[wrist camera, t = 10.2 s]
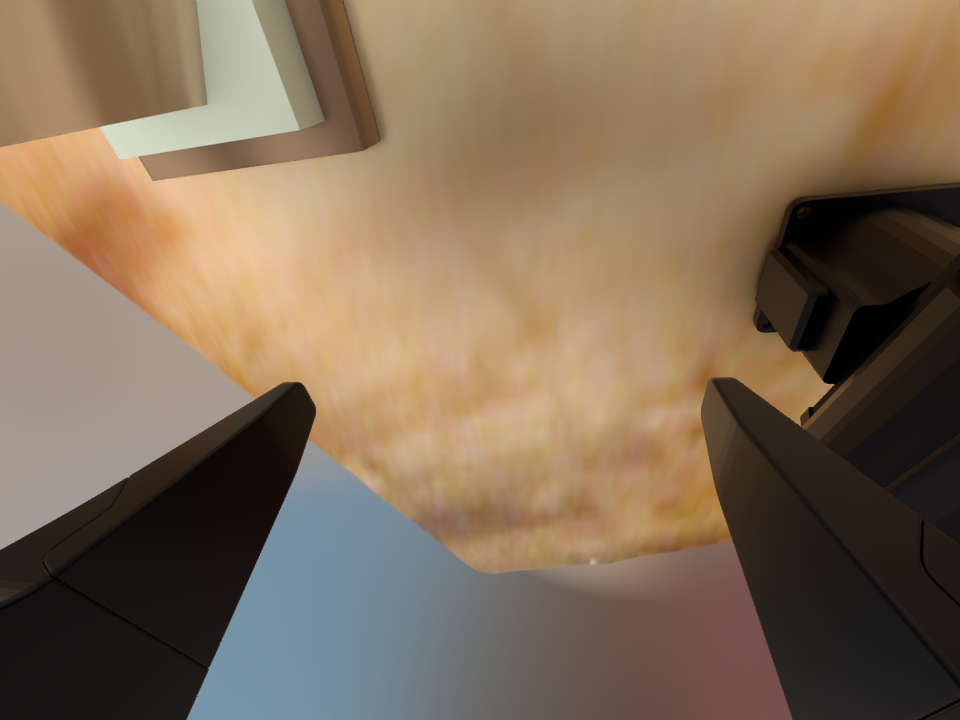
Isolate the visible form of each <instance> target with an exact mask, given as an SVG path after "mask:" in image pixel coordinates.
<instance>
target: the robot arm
mask: <svg viewBox="0 0 960 720" xmlns="http://www.w3.org/2000/svg"><path fill="white" fill-rule="evenodd" d="M806 206H807V210H806V211H805V213H803V214H802V215H799V216H797V212H798V211H799V210H800V209H801V208H803V207H806ZM755 300H756V302H757V303H758V307H757V310H756V314H755V317H754V322H753V323H754V325H755V327H756V328H757V330H758V331H760V332H764V333H768V332H778V334H779V335H780V337H781V338H782V340H783V341H784V342H785V344H786V345H787V347H788V348H789V349H791V350H792V351H793V352H802V353H803V354H804V356H805V357H806V358H807V360H808V361H809V362H810V364H811V365H812V367H813V368H814V369H815V371H816V372H817V373H818V375H819V376H820V378H821V379H822V380H823V381H824V382H825V383H827V384H835V385H834V386H833V387H832V388H831V389H830V390H829V391H828V392H827V393H826V394H825V395H824V396H823V397H822V398H821V399H820V401H819V402H818V403H817V404H816V405H815V406H814V407H809V408H808V409H807V410H806V411H805V412H804V413H803V414H802V415H801V417H800V420H801V427H800V426H799V425H798V424H796V423H795V422H793V421H792V420H791V419H789V418H788V417H787V416H785V415H784V414H783V413H781V412H780V411H779V410H777V409H776V408H775V407H773V406H772V405H771V404H769V403H768V402H766V401H765V400H764V399H762V398H761V397H760V396H758V395H757V394H756V393H754V392H753V391H752V390H750V389H749V388H748V387H746V386H745V385H744V384H742V383H741V382H739V381H738V380H737V379H735V378H731V377H714V378H711V379H710V380H709V381H708V383H707V387H706V391H705V395H704V399H703V403H702V407H701V419H702V424H703V429H704V434H705V439H706V444H707V449H708V455H709V460H710V465H711V470H712V475H713V479H714V484H715V488H716V492H717V495H718V498H719V502H720V505H721V508H722V510H723V513H724V516H725V519H726V522H727V525H728V528H729V531H730V534H731V537H732V540H733V543H734V546H735V549H736V552H737V555H738V558H739V561H740V564H741V567H742V570H743V573H744V576H745V579H746V582H747V585H748V588H749V591H750V594H751V597H752V600H753V603H754V606H755V609H756V612H757V615H758V618H759V621H760V624H761V627H762V630H763V633H764V636H765V639H766V642H767V645H768V648H769V651H770V654H771V657H772V659H773V663H774V666H775V669H776V672H777V674H778V677H779V680H780V684H781V686H782V690H783V693H784V695H785V698H786V701H787V704H788V707H789V710H790V713H791V716H792V719H793V720H960V183H956V184H945V185H934V186H923V187H912V188H901V189H890V190H879V191H868V192H857V193H846V194H835V195H824V196H813V197H803V198H799V199H797V200H795V201H793V202H792V203H791V204H790V205H789V207H788V208H787V210H786V214H785V217H784V220H783V224H782V227H781V230H780V234H779V237H778V240H777V244H776V247H775V248H774V249H773V250H772V251H771V252H769V254H768V257H767V261H766V264H765V267H764V271H763V274H762V278H761V281H760V285H759V288H758V291H757V295H756V298H755ZM766 320H769V322H768V323H767V324H762V323H763V322H764V321H766ZM315 416H316V407H315V404H314V402H313V401H312V399H311V397H310V395H309V393H308V392H307V390H306V388H305V386H304V385H303V384H302V383H300V382H284V383H282V384H280V385H278V386H277V387H275V388H273V389H272V390H270V391H268V392H267V393H265V394H263V395H262V396H260V397H259V398H257V399H255V400H254V401H252V402H250V403H249V404H247V405H245V406H244V407H242V408H240V409H239V410H237V411H236V412H234V413H232V414H231V415H229V416H227V417H226V418H224V419H222V420H221V421H219V422H217V423H216V424H214V425H212V426H211V427H209V428H208V429H206V430H204V431H203V432H201V433H199V434H198V435H196V436H194V437H193V438H191V439H189V440H188V441H186V442H185V443H183V444H181V445H180V446H178V447H176V448H175V449H173V450H171V451H170V452H168V453H166V454H165V455H163V456H162V457H160V458H158V459H157V460H155V461H153V462H152V463H150V464H148V465H147V466H145V467H143V468H142V469H140V470H139V471H137V472H135V473H134V474H132V475H131V476H130V477H129V478H125V479H123V480H122V481H120V482H119V483H117V484H115V485H114V486H112V487H110V488H109V489H107V490H105V491H104V492H102V493H100V494H99V495H97V496H95V497H94V498H92V499H90V500H88V501H87V502H85V503H83V504H82V505H80V506H78V507H77V508H75V509H73V510H71V511H69V512H68V513H66V514H64V515H62V516H61V517H59V518H57V519H56V520H54V521H52V522H50V523H48V524H47V525H45V526H43V527H41V528H39V529H37V530H36V531H34V532H32V533H30V534H28V535H26V536H25V537H23V538H21V539H19V540H17V541H16V542H14V543H12V544H10V545H8V546H7V547H5V548H3V549H1V550H0V720H187V717H188V715H189V713H190V711H191V708H192V706H193V704H194V701H195V699H196V697H197V695H198V693H199V690H200V688H201V686H202V684H203V682H204V679H205V677H206V675H207V673H208V670H209V669H208V668H209V667H210V665H211V663H212V661H213V658H214V656H215V654H216V652H217V649H218V647H219V645H220V643H221V641H222V638H223V636H224V634H225V631H226V629H227V627H228V625H229V622H230V620H231V618H232V616H233V614H234V611H235V609H236V607H237V605H238V603H239V600H240V598H241V596H242V594H243V591H244V589H245V587H246V585H247V582H248V580H249V578H250V576H251V573H252V571H253V569H254V567H255V564H256V562H257V560H258V558H259V556H260V553H261V551H262V549H263V547H264V544H265V542H266V540H267V538H268V535H269V533H270V531H271V529H272V526H273V524H274V522H275V520H276V517H277V515H278V513H279V511H280V509H281V506H282V504H283V502H284V500H285V497H286V495H287V493H288V490H289V488H290V486H291V484H292V482H293V479H294V477H295V474H296V472H297V470H298V467H299V464H300V461H301V458H302V455H303V452H304V449H305V446H306V443H307V440H308V437H309V434H310V431H311V428H312V425H313V422H314V419H315Z"/></svg>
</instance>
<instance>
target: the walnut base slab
mask: <svg viewBox="0 0 960 720" xmlns="http://www.w3.org/2000/svg"><path fill="white" fill-rule="evenodd" d="M285 3H286V6H287V9H288V12H289V15H290V18H291V21H292V24H293V27H294V30H295V33H296V35H297V38H298V41H299V44H300V47H301V50H302V53H303V56H304V59H305V62H306V65H307V68H308V71H309V74H310V77H311V80H312V83H313V86H314V89H315V92H316V95H317V98H318V101H319V104H320V107H321V110H322V113H323V116H324V119H325V121H324V122H321V123H318V124H315V125H313V126H310V127H307V128H305V129H302V130H298V131H292V132H286V133H280V134H274V135H268V136H261V137H255V138H249V139H243V140H237V141H231V142H224V143H218V144H212V145H206V146H200V147H194V148H187V149H181V150H175V151H169V152H163V153H157V154H150V155H144V156H138V157H139V159H140V161H141V162H142V164H143V165H144V167H145V169H146V170H147V172H148V174H149V175H150V177H151V179H152V180H153V181H156V180H163V179H170V178H177V177H184V176H191V175H198V174H205V173H212V172H219V171H226V170H233V169H240V168H247V167H254V166H261V165H268V164H275V163H282V162H289V161H296V160H303V159H310V158H317V157H324V156H331V155H337V154H344V153H351V152H358V151H364V150H365V149H367V148H369V147H371V146H372V145H374V144H376V143H377V142H379V141H380V138H379V134H378V130H377V127H376V123H375V119H374V115H373V112H372V108H371V104H370V101H369V97H368V93H367V89H366V86H365V82H364V78H363V74H362V71H361V67H360V63H359V60H358V56H357V52H356V48H355V45H354V41H353V37H352V34H351V30H350V26H349V22H348V19H347V15H346V11H345V8H344V4H343V0H285Z"/></svg>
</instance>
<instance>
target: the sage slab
mask: <svg viewBox="0 0 960 720" xmlns="http://www.w3.org/2000/svg"><path fill="white" fill-rule="evenodd" d="M196 3H197V12H198V21H199V30H200V40H201V49H202V58H203V68H204V77H205V86H206V96H207V105H204V106H199V107H194V108H189V109H185V110H180V111H175V112H170V113H165V114H160V115H155V116H150V117H145V118H141V119H136V120H131V121H126V122H121V123H116V124H111V125H106V126H101V127H100V129H101V131H102V132H103V134H104V135H105V137H106V138H107V140H108V142H109V143H110V145H111V146H112V148H113V150H114V151H115V153H116V154H117V156H118V157H119V159H126V158H132V157H138V156H144V155H150V154H157V153H163V152H169V151H175V150H181V149H187V148H194V147H200V146H206V145H212V144H218V143H224V142H231V141H237V140H243V139H249V138H255V137H261V136H268V135H274V134H280V133H286V132H292V131H298V130H302V129H305V128H307V127H310V126H313V125H315V124H318V123H321V122H324V121H325V119H324V116H323V113H322V110H321V107H320V104H319V101H318V98H317V95H316V92H315V89H314V86H313V83H312V80H311V77H310V74H309V71H308V68H307V65H306V62H305V59H304V56H303V53H302V50H301V47H300V44H299V41H298V38H297V35H296V33H295V30H294V27H293V24H292V21H291V18H290V15H289V12H288V9H287V6H286V3H285V0H196Z"/></svg>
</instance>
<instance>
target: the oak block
mask: <svg viewBox="0 0 960 720" xmlns="http://www.w3.org/2000/svg"><path fill="white" fill-rule="evenodd" d="M204 105H207V96H206V86H205V77H204V68H203V58H202V49H201V40H200V30H199V21H198V12H197V3H196V0H0V147H4V146H9V145H14V144H18V143H23V142H28V141H33V140H38V139H43V138H48V137H53V136H57V135H62V134H67V133H72V132H77V131H82V130H87V129H92V128H97V127H101V126H106V125H111V124H116V123H121V122H126V121H131V120H136V119H141V118H145V117H150V116H155V115H160V114H165V113H170V112H175V111H180V110H185V109H189V108H194V107H199V106H204Z"/></svg>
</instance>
